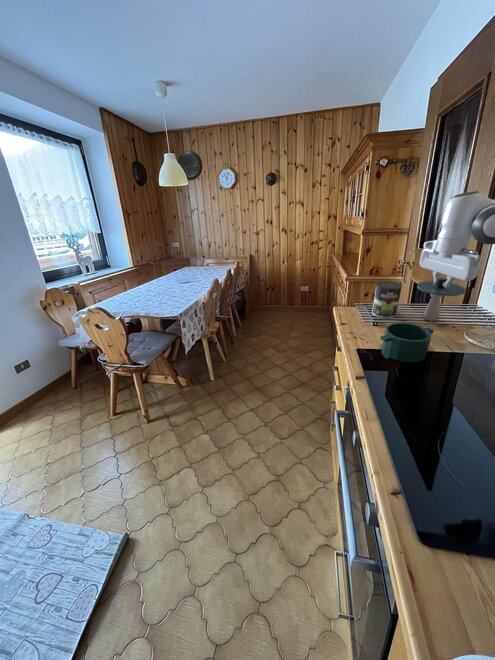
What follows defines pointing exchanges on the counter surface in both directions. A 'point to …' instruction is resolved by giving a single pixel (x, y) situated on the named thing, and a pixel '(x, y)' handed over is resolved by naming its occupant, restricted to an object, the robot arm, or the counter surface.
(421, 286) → the lid
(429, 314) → the salt shaker
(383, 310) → the coffee can
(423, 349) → the pot
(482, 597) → the counter surface
